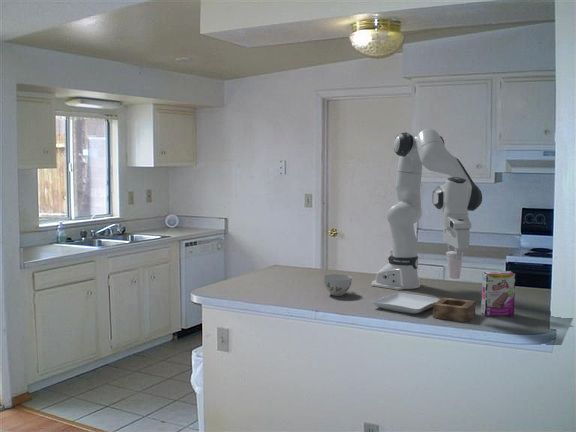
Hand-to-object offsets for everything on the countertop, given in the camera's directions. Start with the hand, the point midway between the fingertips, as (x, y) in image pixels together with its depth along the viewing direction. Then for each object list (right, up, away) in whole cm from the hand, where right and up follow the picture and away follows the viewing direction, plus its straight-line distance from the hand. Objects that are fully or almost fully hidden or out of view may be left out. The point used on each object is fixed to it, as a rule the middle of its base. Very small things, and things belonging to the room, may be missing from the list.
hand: (454, 257), depth 227 cm
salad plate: (-15, -21, +16) cm, 30 cm away
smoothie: (0, -8, +1) cm, 8 cm away
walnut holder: (0, -22, +2) cm, 22 cm away
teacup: (-40, -19, +40) cm, 59 cm away
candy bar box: (+17, -22, +3) cm, 28 cm away
